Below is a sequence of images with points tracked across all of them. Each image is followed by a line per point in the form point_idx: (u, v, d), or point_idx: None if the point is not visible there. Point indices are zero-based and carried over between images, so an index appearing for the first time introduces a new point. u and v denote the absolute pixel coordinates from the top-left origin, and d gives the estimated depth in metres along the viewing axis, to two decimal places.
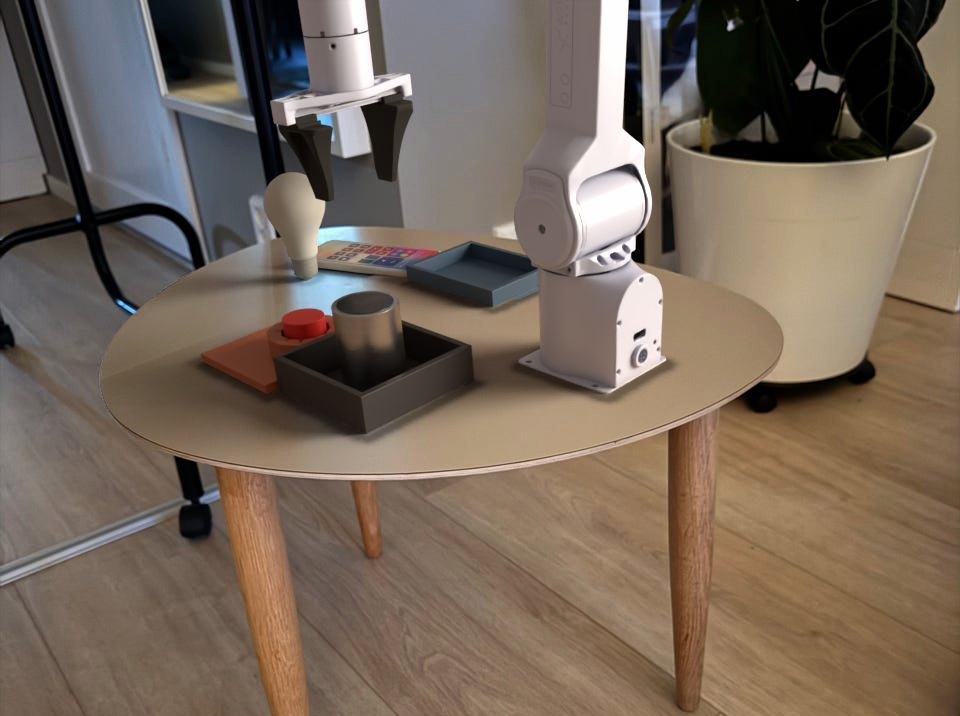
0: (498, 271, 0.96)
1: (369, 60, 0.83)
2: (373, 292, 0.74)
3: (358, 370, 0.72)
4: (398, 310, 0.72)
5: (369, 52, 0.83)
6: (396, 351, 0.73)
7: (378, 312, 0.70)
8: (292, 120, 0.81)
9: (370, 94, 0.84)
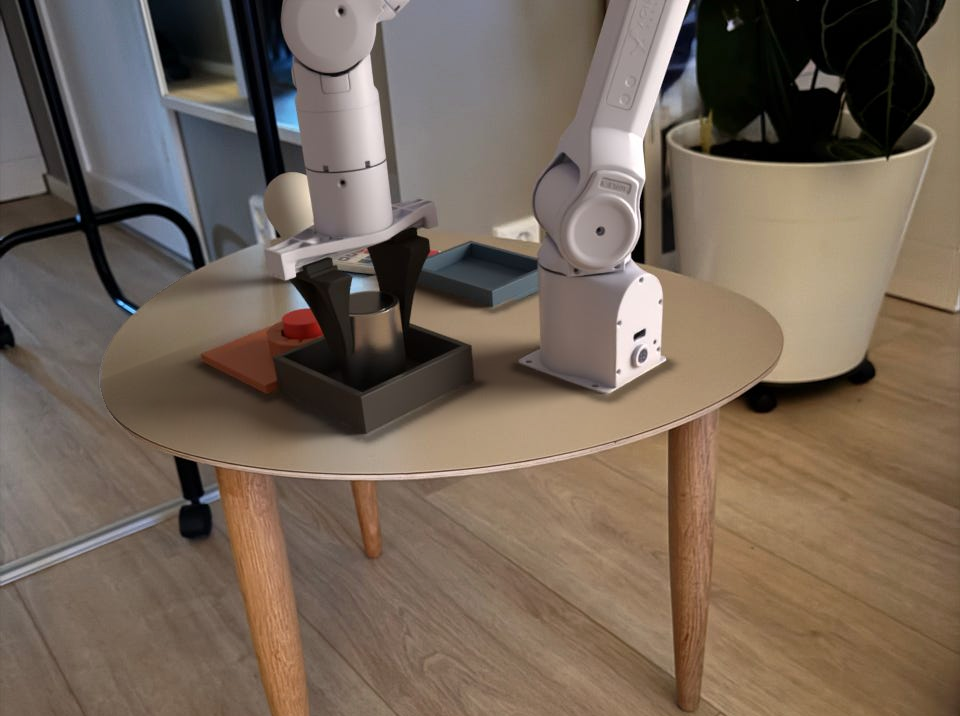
0: (498, 271, 0.96)
1: (387, 195, 0.67)
2: (373, 292, 0.74)
3: (358, 370, 0.72)
4: (398, 310, 0.72)
5: (387, 185, 0.67)
6: (396, 351, 0.73)
7: (378, 312, 0.70)
8: (292, 273, 0.65)
9: (388, 236, 0.68)
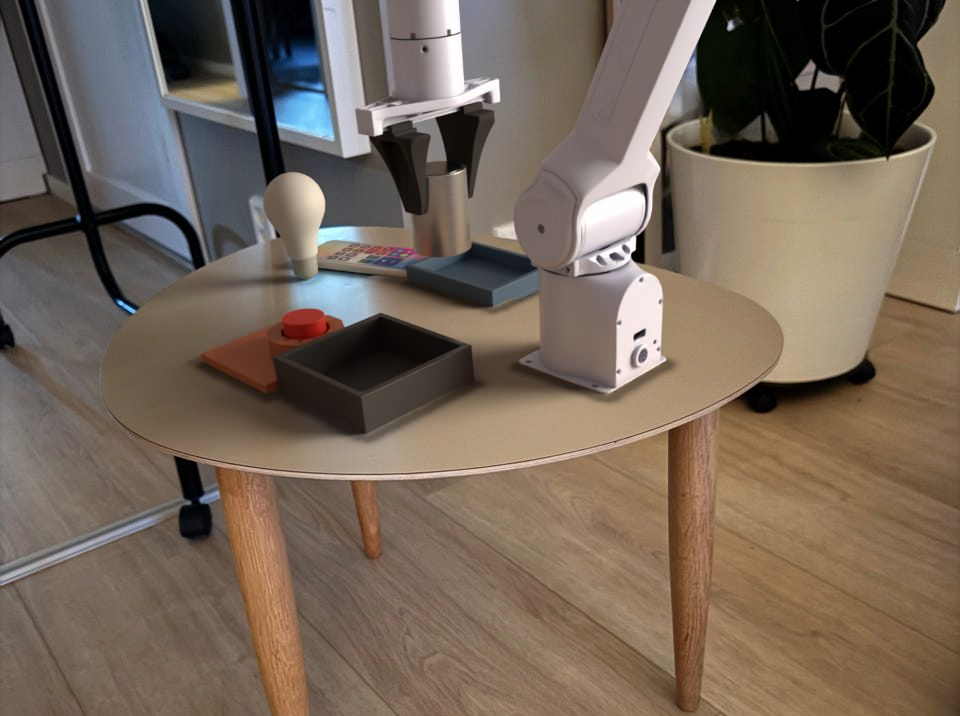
0: (498, 271, 0.96)
1: (461, 64, 0.76)
2: (441, 161, 0.83)
3: (430, 229, 0.81)
4: (465, 174, 0.81)
5: (461, 55, 0.76)
6: (463, 212, 0.82)
7: (449, 173, 0.79)
8: (379, 130, 0.74)
9: (461, 102, 0.77)
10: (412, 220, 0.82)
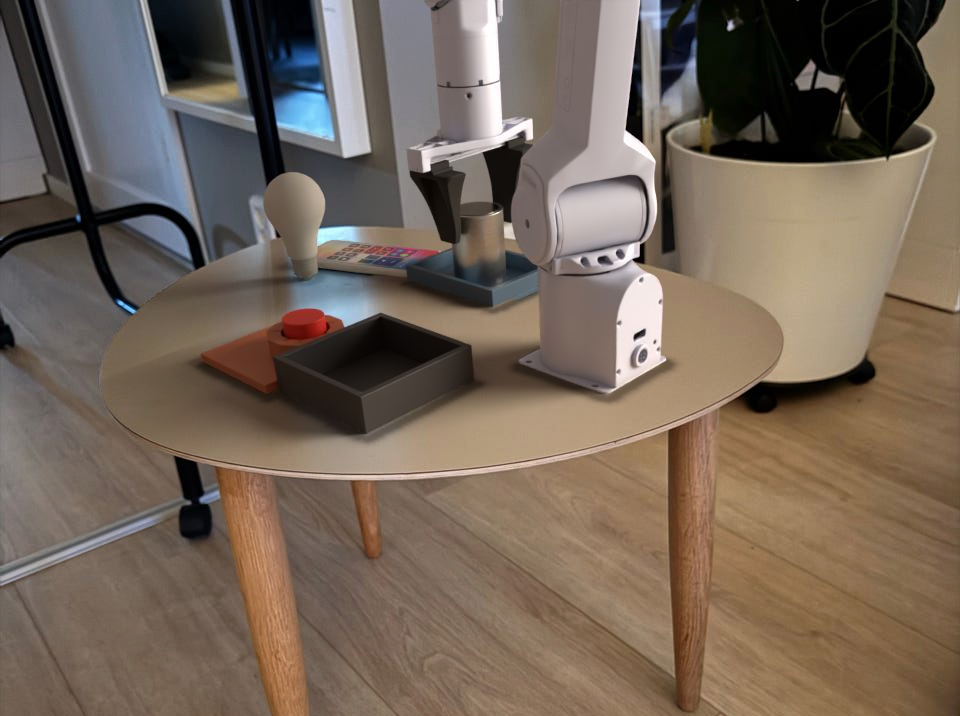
0: None
1: (500, 108, 0.85)
2: (480, 202, 0.93)
3: (470, 262, 0.91)
4: (502, 214, 0.91)
5: (500, 100, 0.85)
6: (500, 247, 0.91)
7: (488, 214, 0.89)
8: (428, 167, 0.84)
9: (500, 141, 0.86)
10: (454, 254, 0.92)
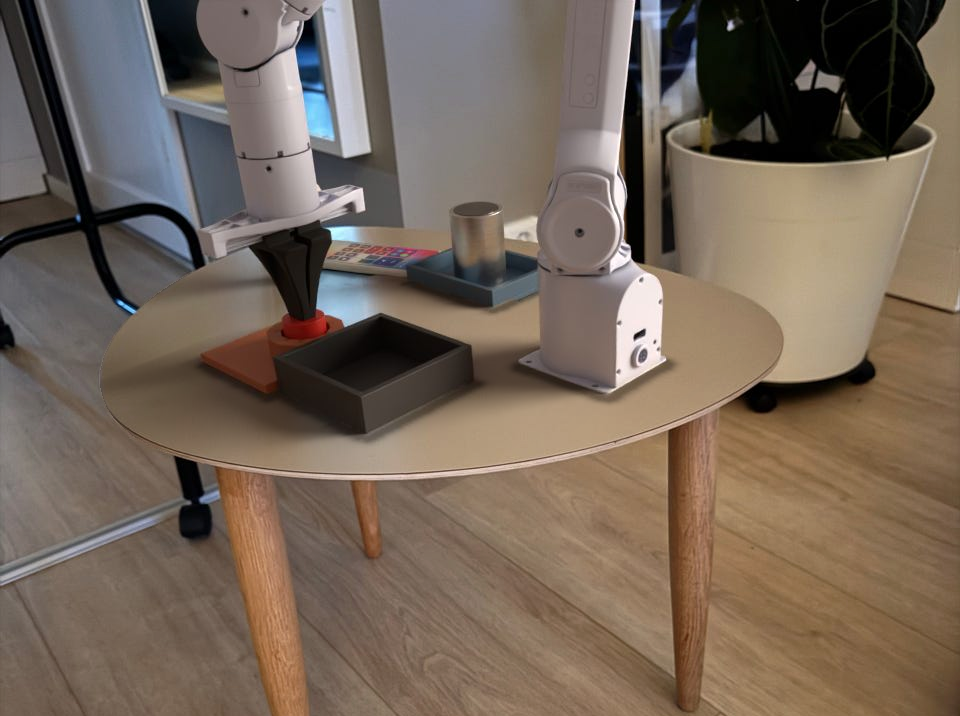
0: None
1: (312, 180, 0.73)
2: (480, 202, 0.93)
3: (470, 262, 0.91)
4: (502, 214, 0.91)
5: (312, 171, 0.73)
6: (500, 247, 0.91)
7: (488, 214, 0.89)
8: (222, 252, 0.71)
9: (314, 219, 0.73)
10: (454, 254, 0.92)
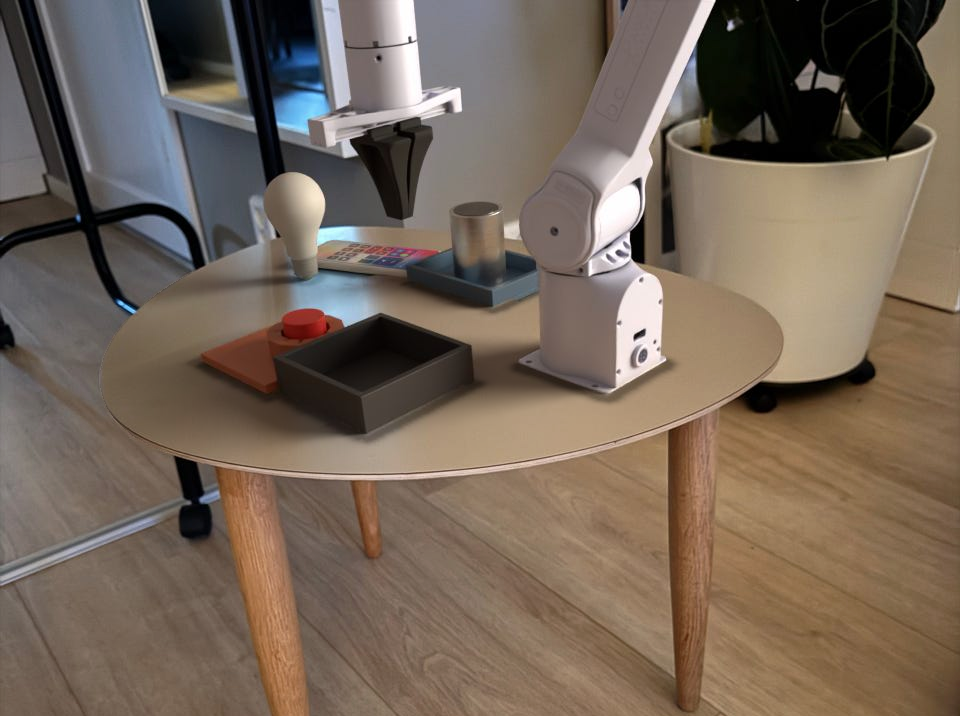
0: None
1: (418, 73, 0.74)
2: (480, 202, 0.93)
3: (470, 262, 0.91)
4: (502, 214, 0.91)
5: (418, 64, 0.74)
6: (500, 247, 0.91)
7: (488, 214, 0.89)
8: (332, 141, 0.72)
9: (418, 112, 0.75)
10: (454, 254, 0.92)
